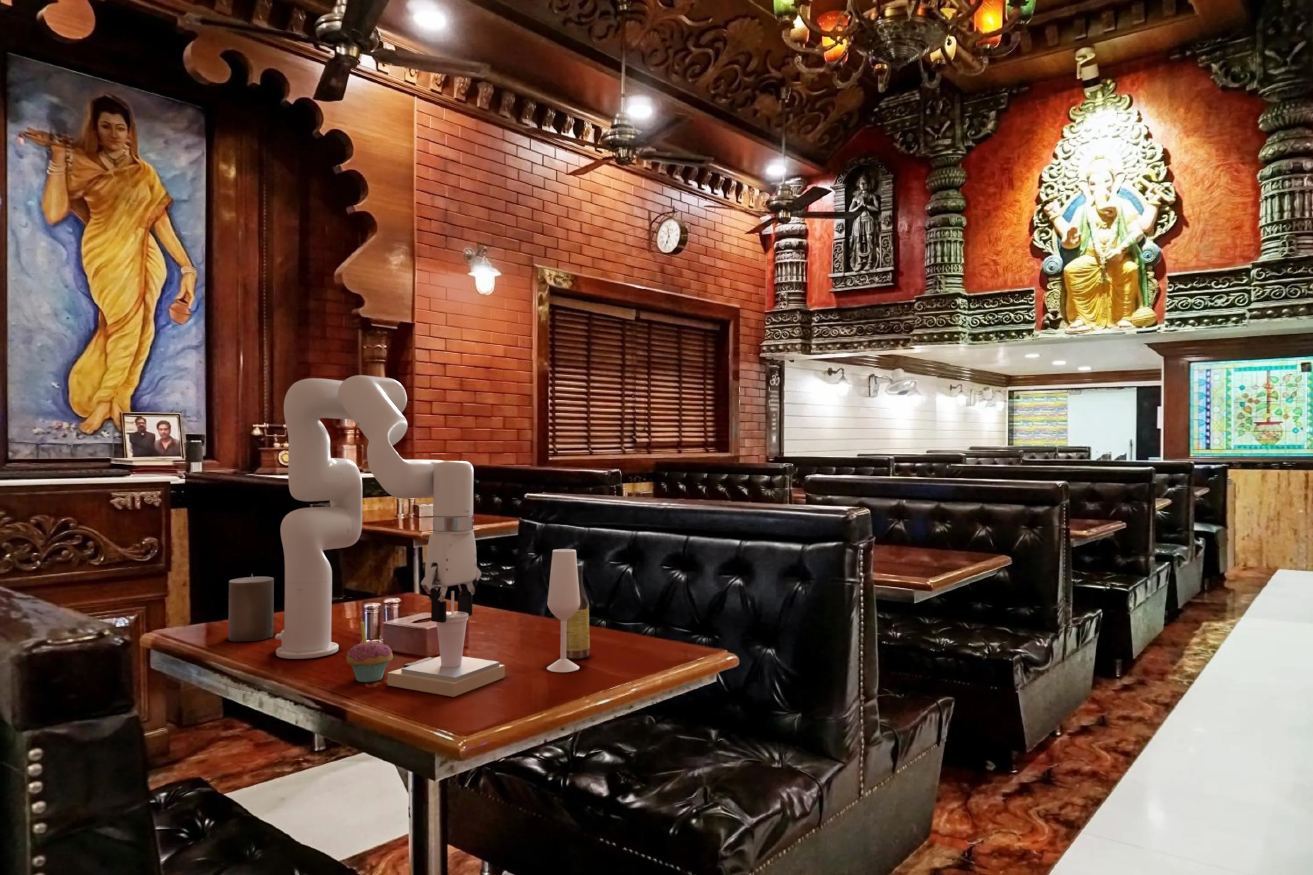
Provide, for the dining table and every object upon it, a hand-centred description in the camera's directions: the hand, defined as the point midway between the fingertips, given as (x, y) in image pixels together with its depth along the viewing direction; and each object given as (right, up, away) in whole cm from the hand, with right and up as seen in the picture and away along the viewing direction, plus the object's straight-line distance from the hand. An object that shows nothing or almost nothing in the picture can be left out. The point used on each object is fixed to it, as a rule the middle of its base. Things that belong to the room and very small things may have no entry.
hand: (452, 617), depth 159 cm
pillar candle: (-57, -13, +37) cm, 68 cm away
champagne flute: (+20, -13, +11) cm, 26 cm away
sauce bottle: (+22, -13, +20) cm, 32 cm away
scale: (-1, -12, 0) cm, 12 cm away
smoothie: (0, -9, 0) cm, 9 cm away
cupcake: (-16, -12, +2) cm, 21 cm away
